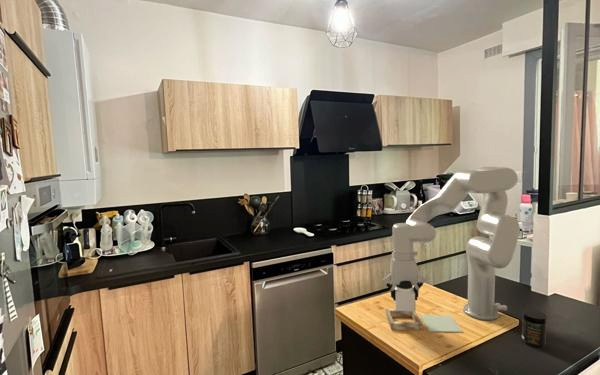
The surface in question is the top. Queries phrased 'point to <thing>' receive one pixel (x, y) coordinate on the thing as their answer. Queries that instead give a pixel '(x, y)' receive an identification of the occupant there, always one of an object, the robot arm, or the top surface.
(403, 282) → the medicine bottle
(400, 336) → the top surface
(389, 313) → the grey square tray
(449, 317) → the mat
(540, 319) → the supplement container
